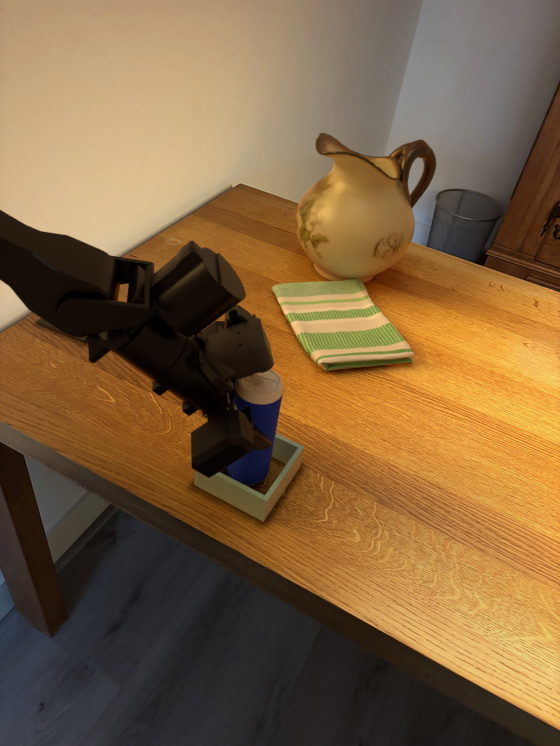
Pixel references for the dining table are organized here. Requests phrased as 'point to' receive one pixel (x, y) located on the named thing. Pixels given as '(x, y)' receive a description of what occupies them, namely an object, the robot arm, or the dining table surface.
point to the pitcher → (361, 209)
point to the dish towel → (341, 325)
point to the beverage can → (258, 422)
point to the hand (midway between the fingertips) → (265, 428)
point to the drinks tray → (248, 497)
